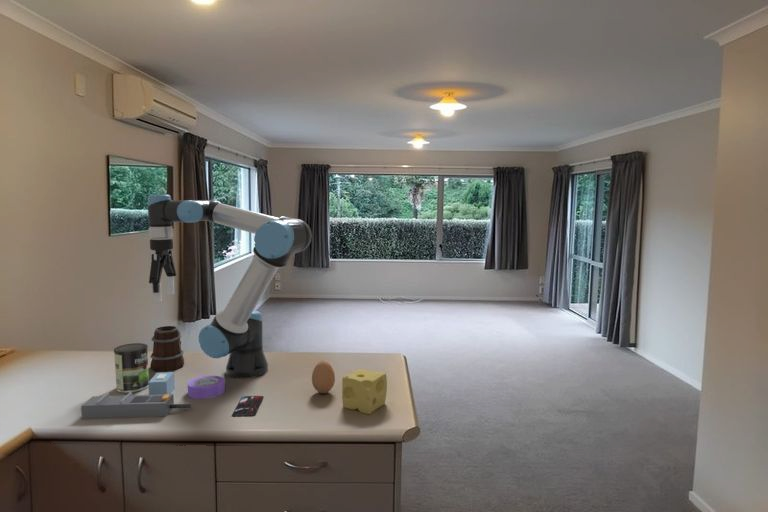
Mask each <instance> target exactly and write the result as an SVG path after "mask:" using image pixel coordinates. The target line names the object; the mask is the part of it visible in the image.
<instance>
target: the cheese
mask: <svg viewBox="0 0 768 512" xmlns="http://www.w3.org/2000/svg"><path fill="white" fill-rule="evenodd" d="M387 377H388V376H387V373H385V372H379V371H372V370H369V369H368V370H367V369H364V368H358V369H356V370H354V371H353V372H351V373H350V374H346V375H345V376H343V377H342V380H341V381H342V382H341V384H342V385H341V386H342V387H341V388H342V389H341V390H342V391H341V393H342V397H341V399H342V401H341V402H342V407H343V408H346V409H348V410H353V411H355V410H359V412H360V413H363V414H365V415H370V414H372V413H373V412H374V411H376V410H377V409H379V408H380V407H383V406H384V405H385V404H386V400H387V399H386V398H387V392H388V391H387V389H388V380H387Z"/></svg>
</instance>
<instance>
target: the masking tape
mask: <svg viewBox="0 0 768 512" xmlns="http://www.w3.org/2000/svg"><path fill="white" fill-rule="evenodd" d="M225 383H226V382H225V378H224V377H222V376H219V375H205V376H198V377H196V378H193V379H191V380H189V381H188V382H187V396H188V397H190V398H193V399H197V400H199V399H200V400H203V399H204V400H205V399H211V398H215V397H219V396H221V395H222V394H223V393H225V391H226V388H225V386H226V385H225Z"/></svg>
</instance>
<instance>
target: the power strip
mask: <svg viewBox="0 0 768 512" xmlns="http://www.w3.org/2000/svg"><path fill="white" fill-rule="evenodd" d="M174 400H175V398H174V394H173V393H171V394H160V395H149V394H135V395H133V392H130V393H127V394H126V395H110V392H107V393H105V394H103V396H102V395H96V396H93V395H92V396H91V397H90V398H88V399H87V400H86V401H85V402H84V403H83V404H82V405H80V407H81V408H80V409H81V411H80V412H81V420H84V419H85V420H90V419H94V420H95V419H118V418H120V419H123V418H147V417H149V418H150V417H153V418H154V417H167V416H168V415H169V414H170V412H171V411H172V410H173V409H191V407H192V403H175V401H174Z"/></svg>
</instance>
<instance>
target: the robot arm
mask: <svg viewBox="0 0 768 512" xmlns="http://www.w3.org/2000/svg"><path fill="white" fill-rule="evenodd" d="M147 213H148V215H147V217H148V229H147V232H149V238H150V240H149V250H151V251H155V253H152V254H151V261H150V262H151V264H150V269H149V270H150V272H149V277H148V278H149V280H148V284H151V289H152V290H151V291H152V302H153V303H161V302H162V301H163V300H162V299H163V297H162V282H161V278H162V274H163V270H164V272H165V275H166V276H165V291H166V293H165V294H166V295H175V277H177V272H176V267H175V263H174V259H173V258H174V257H173V252H172V251H173V249H174V239H173V237H174V233H173V223H186V224H190V223H191V224H192V223H197V222H203V221H204V222H205V221H206V222H209V223H214V224H219V225H222V226H226V227H229V228H233V229H236V230H240V231H244V232H246V233H252V234H253V235H254V237H253V242H254V247H253V249H252V251H253V254H254V257H253V259H252V260H251V261H250V264H249V265H248V267H247V269H246V271H245V272H244V274H243V276H242V278H241V279H240V281H239V283H238V285H237V286H236V288H235V290H234V292H233V293H232V295H231V297H230V298H229V300H228V301H227V304H226V305H225V307H224V309H223V310H219V311H218V312H217V313H216V314H215V315H214V318H213V319H212V320H211V323H209V324H207V325H205V326H204V327H202V328H201V329H200V331H199V333H198V343H199V347H200V349H201V351H202V352H203V353H204V354H205V355H206V356H208V357H209V358H212V359H221V358H222V357H223V358H224V357H226V356H228V355H229V356H228V358H227V362H226V366H225V374H226V375H227V376H228V377H231V378H235V379H247V378H249V379H250V378H256V377H259V376H262V375H264V374H266V373H267V372H268V371H269V362H268V361H267V358H266V356H265V352H264V349H263V348H264V347H263V345H264V343H263V316H262V315H263V314H262V313H261V311H258V310H255V309H256V307H257V306H258V304H259V302H260V300H261V299H262V296H263V295H264V293H265V292H266V290H267V288H268V287H269V285H270V283H271V282H272V280H273V278H274V277H275V275H276V273H277V271H278V270H279V269H282V268H285V267H286V265H287V264H288V262H289V261H290V259H291V257H292V256H293V255H294V254H298V253H301V252H304V251H305V250H307V248H308V247H309V245H310V244H311V242H312V230H311V227H310V225H308V224H307V222H305V221H304V220H302V219H300V218H293V217H289V216H284V215H283V216H280V217H278V216H277V217H276V216H272V215H270V214H269V215H268V214H264V213H261V212H258V211H257V212H256V211H253V210H249V209H244V208H241V207H237V206H233V205H230V204H226V203H222V202H221V201H220V200H216V199H204V200H203V199H195V200H194V199H190V200H189V199H188V200H187V199H186V200H185V199H184V200H181V199H180V200H179V199H178V200H173V199H172V197H171V195H170V194H150V195H148V197H147Z"/></svg>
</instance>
